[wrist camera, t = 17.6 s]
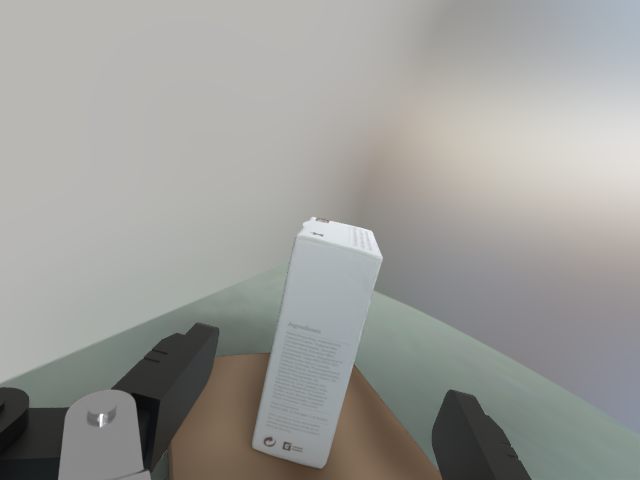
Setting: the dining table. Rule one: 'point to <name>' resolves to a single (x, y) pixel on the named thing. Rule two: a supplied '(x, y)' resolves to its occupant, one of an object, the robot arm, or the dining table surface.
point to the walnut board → (276, 473)
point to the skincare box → (316, 340)
